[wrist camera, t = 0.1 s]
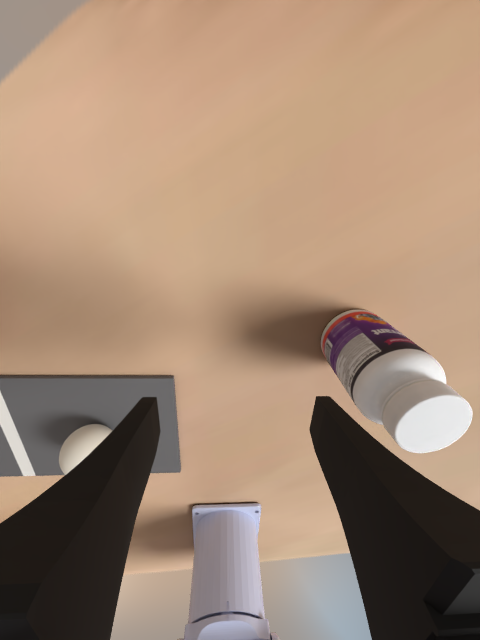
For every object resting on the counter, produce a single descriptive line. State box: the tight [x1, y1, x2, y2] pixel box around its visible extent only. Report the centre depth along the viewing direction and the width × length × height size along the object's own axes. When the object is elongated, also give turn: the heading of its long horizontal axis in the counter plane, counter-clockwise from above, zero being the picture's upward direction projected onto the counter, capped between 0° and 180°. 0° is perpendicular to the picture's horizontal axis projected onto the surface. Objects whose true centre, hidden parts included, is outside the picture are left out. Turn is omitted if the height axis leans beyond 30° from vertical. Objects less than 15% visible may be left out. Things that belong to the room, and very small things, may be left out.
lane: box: [0, 376, 181, 477], centre depth 24 cm, size 12×25×1 cm, turn 88°
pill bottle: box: [321, 310, 472, 453], centre depth 18 cm, size 5×5×10 cm
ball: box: [59, 424, 112, 475], centre depth 22 cm, size 4×4×4 cm
